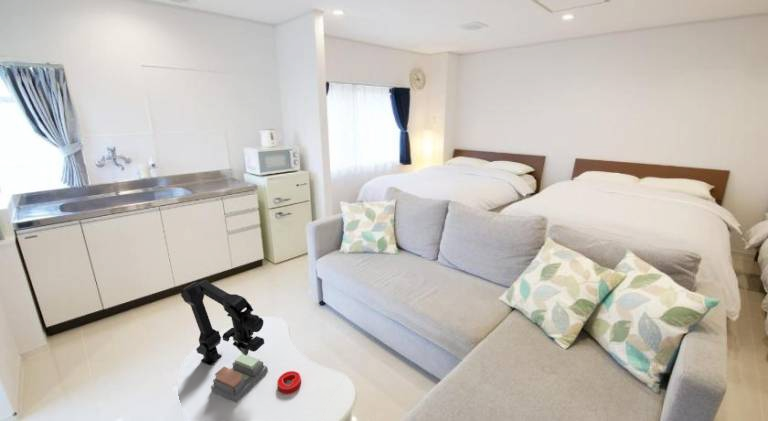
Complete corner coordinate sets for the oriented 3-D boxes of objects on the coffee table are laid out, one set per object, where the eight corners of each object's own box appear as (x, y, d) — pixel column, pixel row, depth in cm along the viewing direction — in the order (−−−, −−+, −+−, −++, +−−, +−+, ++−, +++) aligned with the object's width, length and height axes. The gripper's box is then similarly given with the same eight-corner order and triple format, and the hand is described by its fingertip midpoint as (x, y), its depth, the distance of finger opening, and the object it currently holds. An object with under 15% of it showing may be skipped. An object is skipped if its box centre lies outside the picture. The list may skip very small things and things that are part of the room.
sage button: (236, 366, 149) (234, 359, 148) (243, 360, 153) (242, 353, 151) (253, 373, 145) (251, 366, 144) (260, 366, 149) (259, 359, 147)
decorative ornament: (279, 378, 147) (278, 372, 146) (301, 374, 149) (301, 368, 148) (277, 396, 138) (276, 390, 137) (300, 392, 140) (300, 386, 139)
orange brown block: (216, 381, 140) (215, 373, 139) (225, 373, 144) (223, 366, 142) (234, 389, 136) (232, 381, 135) (242, 381, 140) (241, 373, 138)
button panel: (211, 391, 141) (209, 381, 139) (244, 361, 156) (242, 352, 154) (236, 402, 135) (233, 392, 133) (267, 371, 151) (266, 361, 149)
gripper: (271, 319, 145) (275, 348, 150) (239, 309, 152) (244, 337, 157) (251, 335, 135) (257, 366, 140) (218, 323, 143) (225, 353, 148)
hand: (246, 354), depth 147 cm, fingers closed
